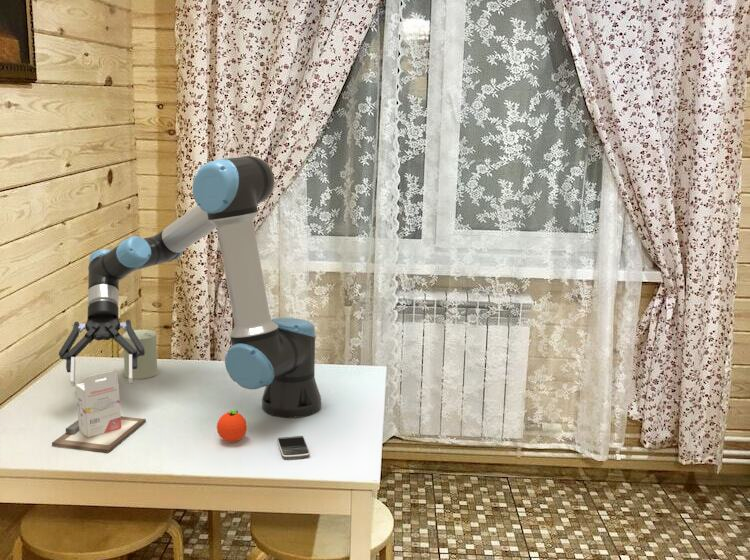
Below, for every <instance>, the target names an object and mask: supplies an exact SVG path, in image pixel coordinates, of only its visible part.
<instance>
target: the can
mask: <svg viewBox="0 0 750 560" xmlns="http://www.w3.org/2000/svg"><path fill="white" fill-rule="evenodd" d="M133 331H134V332H135V334H136V336H137V337H138V339H139V341H140V342H141V344H142V346H143V347H144V350H145V354H144V355H143V356H139V357H138V358H137V369H133V380H135V379H136V380H142V379H144V378H145V379H149V378H153V377H156V376H157V375H158V374H159V369H158V355H157V352H158V351H157V332H156V331H154V330H152V329H151V330H150V329H133ZM122 337H123V338H124V339H125V340H126V341H127V342H128V343H129V344H130V345H131V346H132V347H133V348H134V349H135V350H137V348H136V347H135V345H134V343H133V342H132V340H131V338H130V337H129V335H128V333H127V331H125V332H124V333H123V334H122ZM123 363H124V366H123V367H124V372H123V373H124V374H123V375H124V377H126V378H127V379H129V353H128V352H127V351H126V350H125V349H124V348H123ZM145 379H144V380H145Z"/></svg>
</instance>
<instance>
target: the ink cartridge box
mask: <svg viewBox="0 0 750 560" xmlns="http://www.w3.org/2000/svg"><path fill="white" fill-rule="evenodd" d="M75 393H76V395H75V396H76V406H77V420H78V422H79V432H81V433H82V434H84V435H85V436H87V437H92V436H95V435H99V434H102V433H106V432H110V431H113V430H117V429H120V428H121V401H120V385H119V382H118V371H117V370H116V369H114V370H111V371H105V372H99V373H95V374H91V375H88V376H84V377H83V382H82V383H78V384H75Z"/></svg>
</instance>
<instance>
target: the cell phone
mask: <svg viewBox="0 0 750 560" xmlns="http://www.w3.org/2000/svg"><path fill="white" fill-rule="evenodd" d="M276 439H277V444H278V448H279V451H280V453H281V457H282V458H284V459H283V460H297V459H298V460H299V459H300V458H301V459H306V458H307V457H308V458H309V457H310V453H311V452H310V449H309V447H308V444H307V443H306V440H305V437H304V436H303V435H295V436H285V437H284V436H281V437H277V438H276ZM308 458H307V459H308Z"/></svg>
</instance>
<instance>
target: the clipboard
mask: <svg viewBox="0 0 750 560" xmlns="http://www.w3.org/2000/svg"><path fill="white" fill-rule="evenodd" d="M145 423H147V419H146V418H141V417H140V418H139V417H132V416H131V417H130V416H123V415H122V416H121V428H120V429H117V430H113V431H110V432H106V433H102V434H99V435H95V436H92V437H87V436H85V435H84V434H82V433H81V432H79V422H78V419H77V420H76V421H74V422H73V423H71V424H70V425H69V426H67V427H66V428H65V433H63V434H62V435H61V436H59V437H58V438H56V439H55V440H54V441H52V442H51V447H56V446H58V447H57V448H64V447H66V448H65V449H72V450H82V451H89V452H95V453H105V454H110V452H112V451H113V450H114V449H115V448H116V447H118V446H119V445H121V443H123V442H124V441H125V440H126V439H127V438H129V437H130V436H131V435H132V434H134V433H135V432H136V431H137V430H138V429H140V427H142V426H143V425H145Z"/></svg>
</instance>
